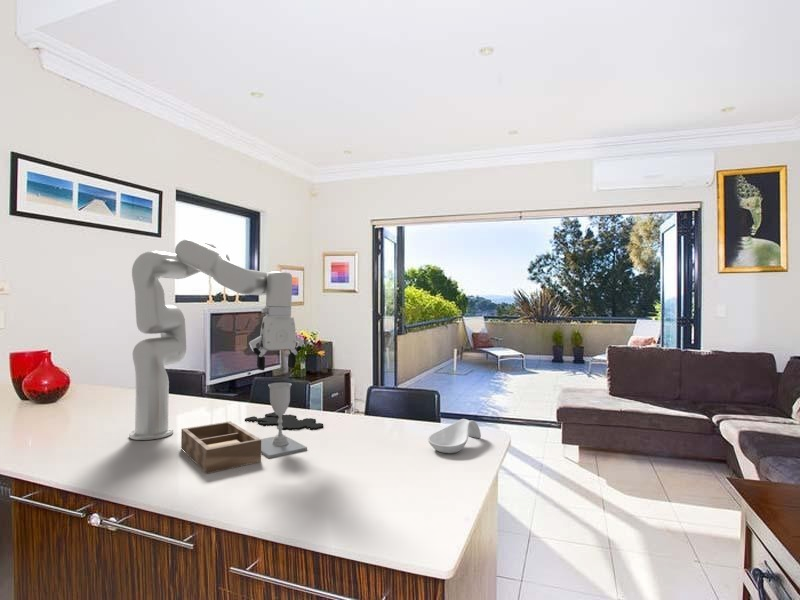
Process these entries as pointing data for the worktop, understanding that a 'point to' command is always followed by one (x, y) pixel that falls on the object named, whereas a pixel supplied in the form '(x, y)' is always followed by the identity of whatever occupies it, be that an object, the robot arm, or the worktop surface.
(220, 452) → the walnut crate
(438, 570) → the worktop surface
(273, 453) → the slate mat
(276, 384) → the chalice
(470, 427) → the spoon rest
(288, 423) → the black silhouette cutout
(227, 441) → the oak offcut top
